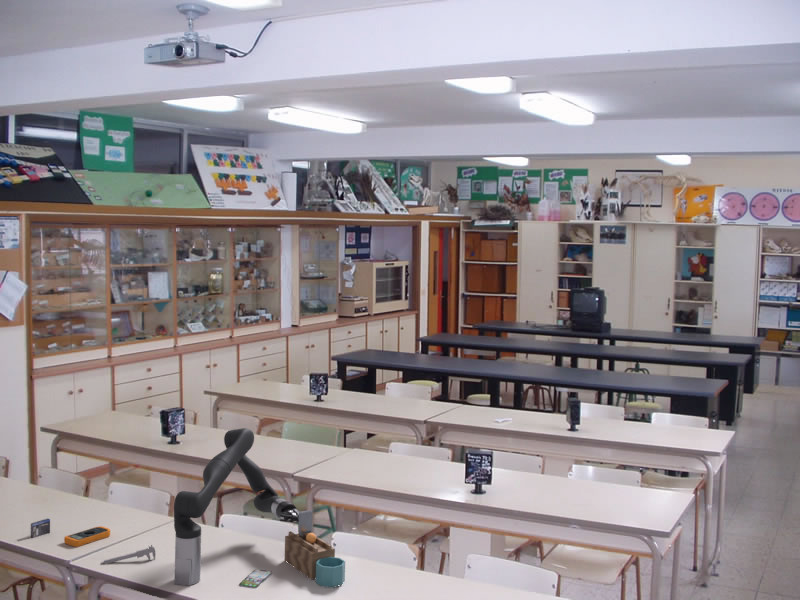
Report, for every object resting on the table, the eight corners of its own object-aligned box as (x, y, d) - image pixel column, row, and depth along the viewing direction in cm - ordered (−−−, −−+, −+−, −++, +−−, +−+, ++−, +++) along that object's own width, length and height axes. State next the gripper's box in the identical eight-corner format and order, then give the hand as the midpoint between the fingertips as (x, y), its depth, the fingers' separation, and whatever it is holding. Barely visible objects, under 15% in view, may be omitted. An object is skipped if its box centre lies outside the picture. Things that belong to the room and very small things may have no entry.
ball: (306, 537, 315) (310, 546, 313) (303, 534, 312) (306, 544, 310) (315, 532, 315) (319, 541, 313) (311, 529, 312) (315, 538, 310)
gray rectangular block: (298, 539, 316) (298, 511, 316) (309, 537, 319) (309, 509, 319) (301, 541, 314) (302, 513, 313) (312, 539, 317) (313, 511, 316)
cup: (311, 579, 302) (312, 560, 302) (334, 574, 308) (335, 555, 308) (325, 589, 294) (325, 569, 293) (348, 583, 300) (349, 563, 299)
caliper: (155, 559, 318) (155, 543, 318) (155, 560, 317) (155, 544, 317) (100, 563, 312) (100, 547, 311) (100, 564, 310) (100, 548, 310)
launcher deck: (284, 560, 320) (285, 532, 320) (306, 556, 326) (307, 528, 326) (311, 579, 302) (312, 549, 302) (334, 574, 308) (335, 544, 308)
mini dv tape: (32, 538, 336) (32, 524, 336) (30, 537, 337) (30, 523, 337) (49, 532, 343) (50, 519, 343) (47, 532, 344) (47, 518, 344)
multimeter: (112, 536, 342) (112, 528, 342) (75, 548, 327) (75, 540, 326) (99, 532, 346) (100, 524, 346) (62, 544, 331) (62, 536, 331)
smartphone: (237, 584, 294) (255, 568, 309) (237, 587, 294) (255, 571, 309) (256, 587, 292) (273, 571, 307) (256, 590, 293) (273, 574, 307)
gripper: (269, 503, 327) (289, 514, 313) (298, 498, 335) (318, 509, 321) (268, 521, 328) (288, 533, 314) (297, 516, 335) (318, 528, 321)
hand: (304, 521), depth 317 cm, fingers closed
